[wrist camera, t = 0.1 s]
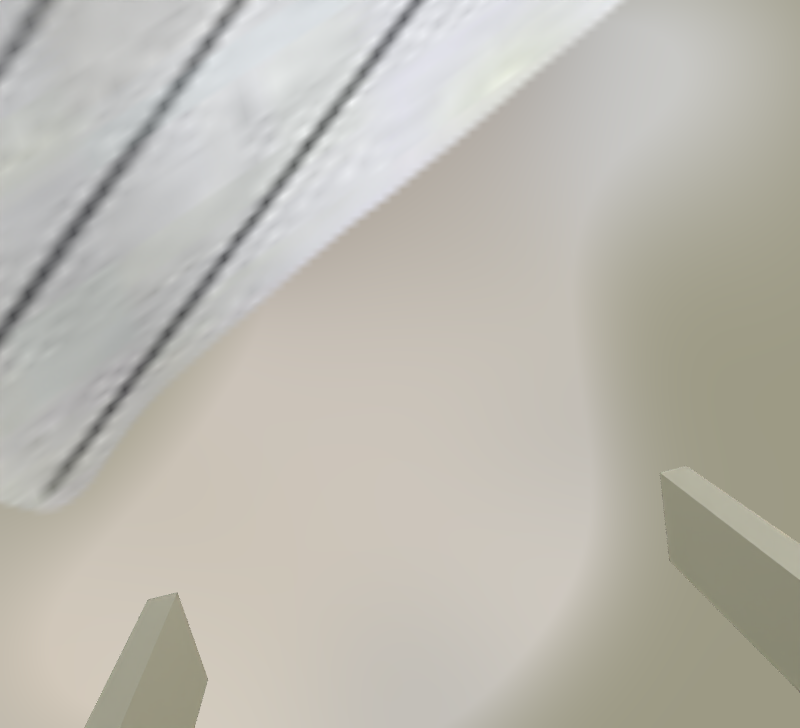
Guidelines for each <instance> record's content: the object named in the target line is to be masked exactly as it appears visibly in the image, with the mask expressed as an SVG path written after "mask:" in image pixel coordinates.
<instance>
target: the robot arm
mask: <svg viewBox="0 0 800 728" xmlns="http://www.w3.org/2000/svg"><path fill="white" fill-rule="evenodd" d="M660 479H661V488H662V497H663V507H664V516H665V525H666V534H667V544H668V553H669V561H670V562H671V563H672V564H673V565H674V566H675V567H676V568H677V569H678V570H679V571H680V572H681V573H682V574H683V575H684V576H685V577H686V578H687V579H688V580H689V581H690V582H691V583H692V584H693V585H694V586H695V587H696V588H697V589H698V590H699V591H700V592H701V593H702V594H703V595H704V596H705V597H706V598H707V599H708V600H709V601H710V602H711V603H712V604H713V605H714V606H715V607H716V608H717V609H718V610H719V611H720V612H721V613H722V614H723V615H724V616H725V617H726V618H727V619H728V620H729V621H730V622H731V623H732V624H733V626H734V627H735V628H736V629H737V630H739V632H740V633H741V634H742V635H743V636H744V637H745V638H746V639H747V640H748V641H749V642H750V643H752V645H753V646H754V647H755V648H756V649H757V650H758V651H759V652H760V653H761V654H762V655H763V656H764V657H765V658H766V659H767V660H768V661H769V662H770V663H771V664H772V665H773V666H774V667H775V668H776V669H777V670H778V671H779V672H780V673H781V674H782V675H783V676H784V677H785V678H786V679H787V680H788V681H789V682H790V683H791V684H792V685H793V686H794V687H795V688H796V689H797V690H798V691H799V692H800V544H799V543H798V542H796V541H795V540H793V539H792V538H790V537H789V536H787V535H786V534H784V533H783V532H782V531H780V530H779V529H777V528H776V527H774V526H773V525H772V524H770V523H769V522H767V521H766V520H764V519H763V518H761V517H760V516H758V515H757V514H755V513H754V512H753V511H751V510H750V509H748V508H746V507H745V506H744V505H743V504H741V503H740V502H738V501H737V500H735V499H734V498H732V497H731V496H730V495H728V494H727V493H725V492H724V491H722V490H721V489H719V488H718V487H716V486H715V485H714V484H712V483H711V482H709V481H708V480H706V479H705V478H703V477H702V476H701V475H699V474H698V473H696V472H695V471H693V470H692V469H690V468H689V467H687V466H684V467H680V468H676V469H673V470H668V471H664V472H660ZM207 681H208V678H207V675H206V672H205V670H204V667H203V664H202V661H201V658H200V655H199V653H198V650H197V647H196V644H195V641H194V638H193V636H192V633H191V630H190V627H189V624H188V621H187V618H186V616H185V613H184V610H183V607H182V604H181V601H180V598H179V596H178V593H173V594H169V595H165V596H161V597H157V598H153V599H149V600H147V603H146V605H145V607H144V609H143V611H142V613H141V615H140V617H139V619H138V621H137V623H136V625H135V627H134V629H133V631H132V633H131V635H130V637H129V639H128V641H127V643H126V645H125V647H124V649H123V651H122V653H121V655H120V657H119V659H118V661H117V663H116V665H115V667H114V669H113V671H112V673H111V675H110V677H109V679H108V681H107V683H106V685H105V687H104V689H103V691H102V693H101V695H100V697H99V699H98V701H97V703H96V705H95V708H94V709H93V711H92V713H91V715H90V717H89V720H88V721H87V723H86V725H85V728H195V724H196V721H197V717H198V713H199V710H200V706H201V703H202V699H203V695H204V692H205V688H206V685H207Z"/></svg>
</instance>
